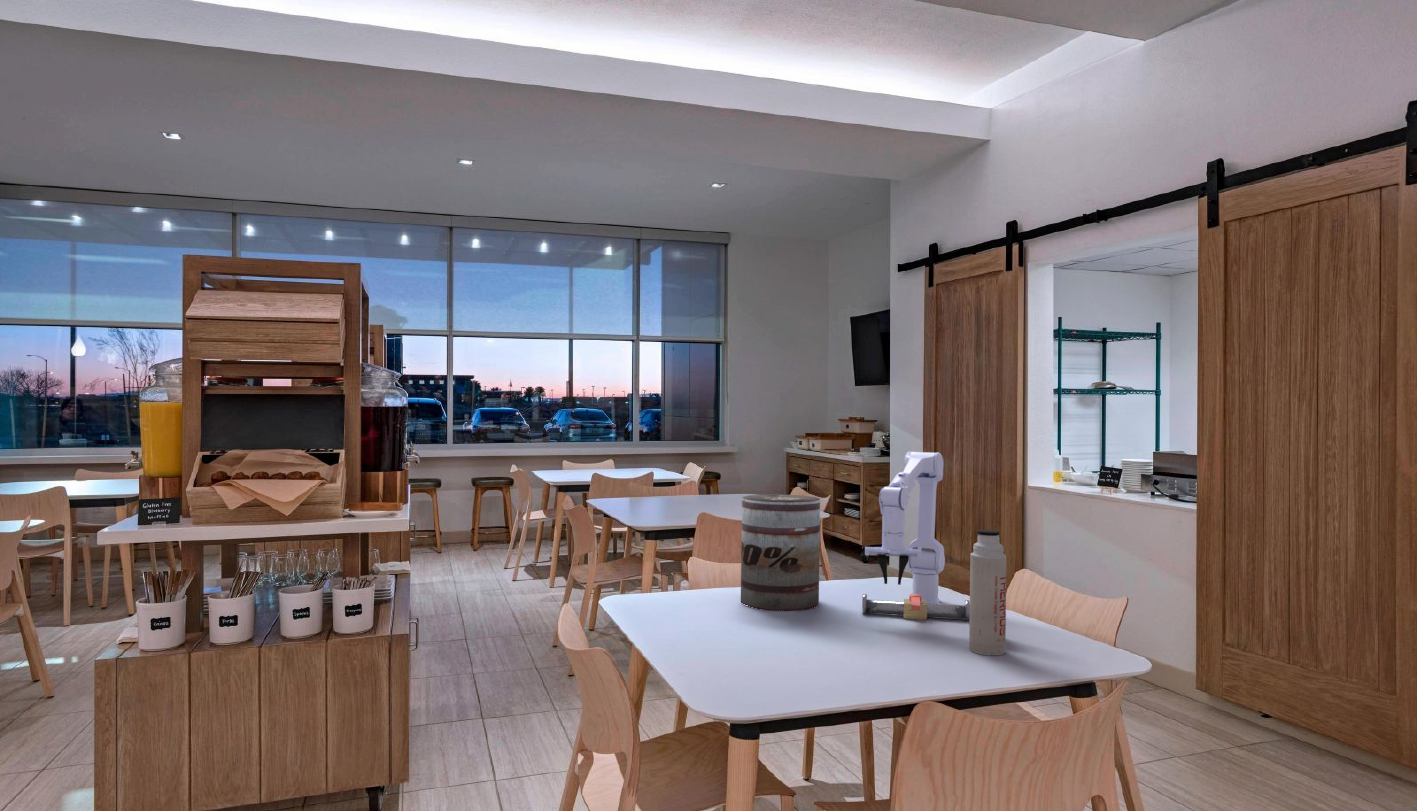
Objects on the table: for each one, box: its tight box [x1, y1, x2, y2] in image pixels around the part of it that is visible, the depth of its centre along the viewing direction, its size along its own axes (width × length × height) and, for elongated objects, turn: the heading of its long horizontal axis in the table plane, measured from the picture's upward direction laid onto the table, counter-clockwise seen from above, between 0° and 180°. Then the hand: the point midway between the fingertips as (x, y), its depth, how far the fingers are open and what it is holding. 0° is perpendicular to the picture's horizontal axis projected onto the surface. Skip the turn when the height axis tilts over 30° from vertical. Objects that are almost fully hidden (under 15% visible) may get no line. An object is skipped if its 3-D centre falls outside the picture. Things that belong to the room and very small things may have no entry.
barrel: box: [740, 493, 821, 612], centre depth 248 cm, size 22×22×30 cm
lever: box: [908, 593, 922, 610], centre depth 228 cm, size 14×3×1 cm, turn 167°
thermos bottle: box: [968, 529, 1007, 656], centre depth 200 cm, size 8×8×28 cm
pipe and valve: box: [861, 593, 970, 621], centre depth 233 cm, size 6×28×5 cm, turn 77°
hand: (892, 583), depth 227 cm, fingers open, 3 cm apart
